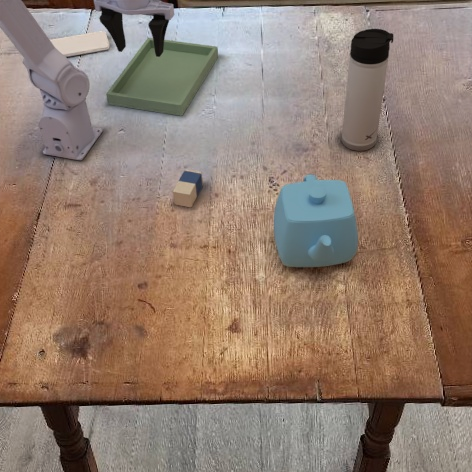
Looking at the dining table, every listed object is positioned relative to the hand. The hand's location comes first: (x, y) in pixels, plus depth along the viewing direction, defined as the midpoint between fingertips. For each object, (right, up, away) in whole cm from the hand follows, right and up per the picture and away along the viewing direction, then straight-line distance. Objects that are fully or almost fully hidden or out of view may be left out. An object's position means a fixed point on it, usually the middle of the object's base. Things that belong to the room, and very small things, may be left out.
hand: (140, 51), depth 127 cm
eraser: (+10, -29, -11) cm, 33 cm away
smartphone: (-17, +9, +20) cm, 28 cm away
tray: (+3, -1, +11) cm, 12 cm away
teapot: (+30, -41, -21) cm, 55 cm away
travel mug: (+40, -18, -4) cm, 44 cm away
